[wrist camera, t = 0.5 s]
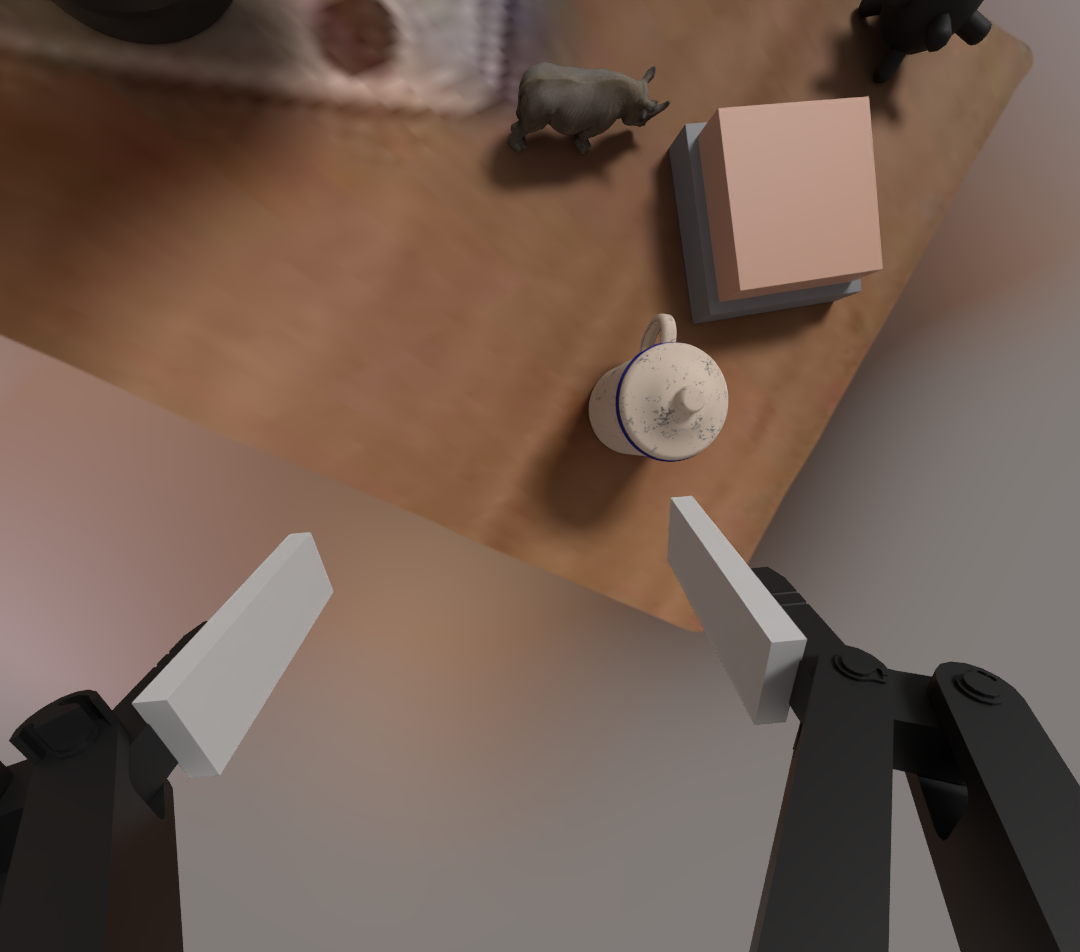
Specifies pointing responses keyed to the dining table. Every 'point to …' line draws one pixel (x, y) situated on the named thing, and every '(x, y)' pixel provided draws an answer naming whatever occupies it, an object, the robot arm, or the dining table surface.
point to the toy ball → (923, 27)
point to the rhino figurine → (580, 102)
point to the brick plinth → (776, 206)
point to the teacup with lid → (660, 399)
